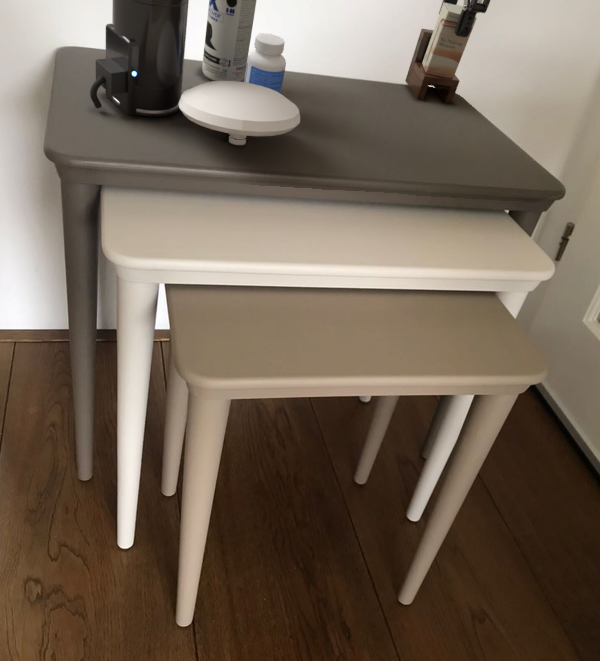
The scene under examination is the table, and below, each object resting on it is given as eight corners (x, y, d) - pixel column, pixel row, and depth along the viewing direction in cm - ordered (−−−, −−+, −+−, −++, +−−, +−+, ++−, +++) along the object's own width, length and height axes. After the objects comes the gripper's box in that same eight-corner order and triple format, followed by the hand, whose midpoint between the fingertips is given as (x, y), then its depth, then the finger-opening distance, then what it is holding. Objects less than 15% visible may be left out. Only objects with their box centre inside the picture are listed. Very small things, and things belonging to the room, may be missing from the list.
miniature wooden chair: (416, 99, 112) (434, 45, 105) (405, 80, 116) (421, 28, 110) (451, 103, 113) (471, 50, 107) (438, 85, 118) (456, 33, 112)
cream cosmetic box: (425, 73, 110) (446, 10, 103) (421, 63, 113) (441, 1, 106) (455, 80, 110) (478, 17, 104) (450, 69, 113) (472, 7, 107)
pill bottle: (284, 114, 97) (297, 47, 90) (252, 117, 94) (263, 48, 88) (266, 96, 100) (277, 30, 94) (234, 99, 97) (243, 31, 91)
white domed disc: (157, 71, 85) (155, 125, 89) (219, 109, 75) (215, 169, 79) (260, 69, 94) (255, 120, 98) (328, 104, 84) (319, 158, 88)
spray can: (196, 65, 104) (210, -80, 90) (238, 67, 106) (257, -74, 93) (207, 84, 99) (224, -65, 86) (250, 86, 102) (273, -59, 89)
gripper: (452, -108, 100) (417, 6, 111) (488, -83, 90) (445, 41, 101) (497, -99, 102) (458, 13, 113) (536, -73, 92) (490, 47, 103)
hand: (452, 26), depth 107 cm, fingers open, 7 cm apart
